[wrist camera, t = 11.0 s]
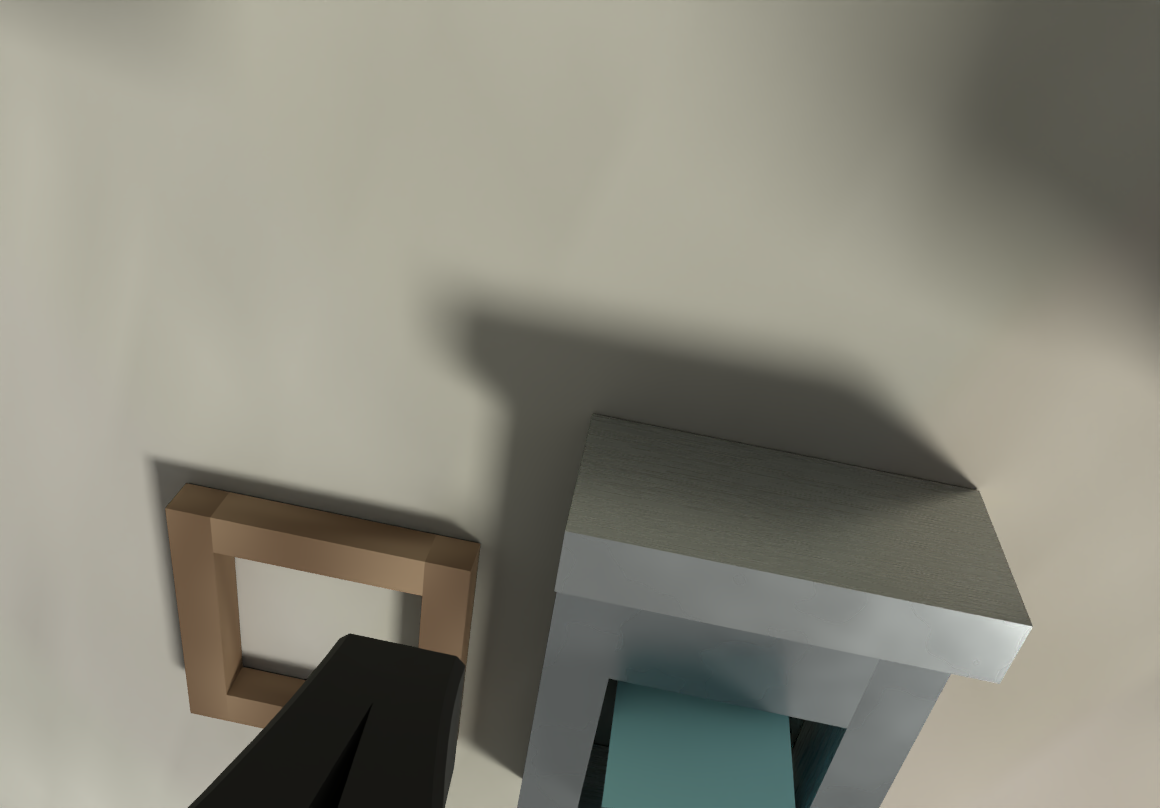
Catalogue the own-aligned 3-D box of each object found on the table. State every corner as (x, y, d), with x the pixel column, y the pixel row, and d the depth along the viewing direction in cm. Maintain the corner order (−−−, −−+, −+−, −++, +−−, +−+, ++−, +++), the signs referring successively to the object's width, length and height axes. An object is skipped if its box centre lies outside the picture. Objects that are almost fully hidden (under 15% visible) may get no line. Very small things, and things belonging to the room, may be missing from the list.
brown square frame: (480, 543, 22) (470, 571, 21) (457, 738, 26) (449, 768, 25) (186, 483, 22) (165, 508, 22) (208, 684, 26) (191, 712, 25)
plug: (783, 645, 23) (798, 852, 18) (779, 752, 25) (792, 963, 20) (623, 639, 23) (597, 838, 19) (631, 744, 25) (610, 946, 21)
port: (979, 490, 19) (1033, 626, 16) (808, 842, 26) (821, 989, 23) (592, 414, 20) (564, 530, 16) (524, 781, 27) (495, 917, 23)
